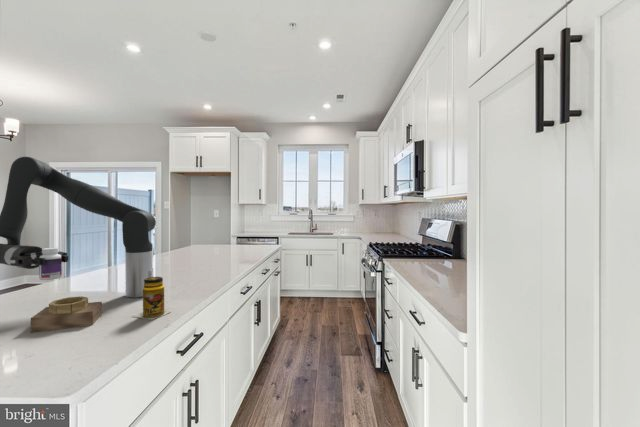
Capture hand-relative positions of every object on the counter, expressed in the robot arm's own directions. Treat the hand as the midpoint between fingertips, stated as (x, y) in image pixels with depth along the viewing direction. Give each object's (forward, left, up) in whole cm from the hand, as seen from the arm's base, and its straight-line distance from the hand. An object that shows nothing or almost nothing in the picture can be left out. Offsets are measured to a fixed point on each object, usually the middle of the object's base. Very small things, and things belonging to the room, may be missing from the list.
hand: (55, 260), depth 95 cm
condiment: (-28, +10, -18) cm, 35 cm away
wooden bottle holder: (-6, +8, -18) cm, 20 cm away
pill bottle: (+2, -2, -6) cm, 7 cm away
